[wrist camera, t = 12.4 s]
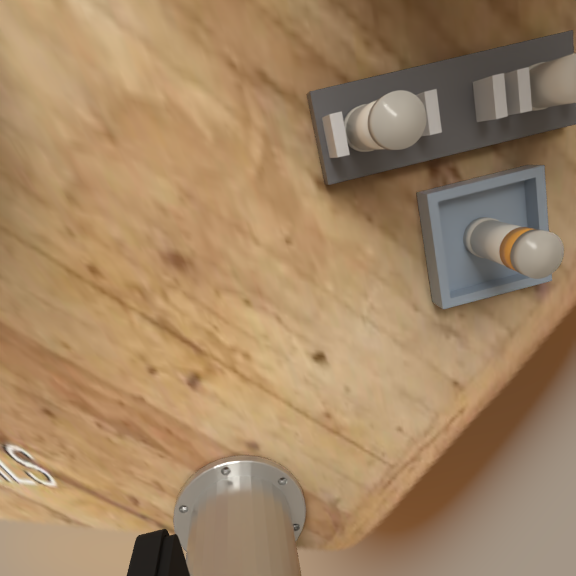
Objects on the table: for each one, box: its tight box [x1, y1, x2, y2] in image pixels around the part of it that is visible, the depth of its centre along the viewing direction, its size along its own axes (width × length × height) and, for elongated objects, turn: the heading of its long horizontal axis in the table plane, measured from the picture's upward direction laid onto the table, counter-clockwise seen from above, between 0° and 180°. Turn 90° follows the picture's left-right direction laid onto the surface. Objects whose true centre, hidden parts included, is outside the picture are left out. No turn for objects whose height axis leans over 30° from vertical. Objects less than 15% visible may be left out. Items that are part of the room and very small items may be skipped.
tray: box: [416, 165, 552, 309], centre depth 40 cm, size 10×10×2 cm
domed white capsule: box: [343, 90, 426, 152], centre depth 32 cm, size 3×3×8 cm
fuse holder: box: [307, 30, 576, 185], centre depth 36 cm, size 7×21×4 cm, turn 103°
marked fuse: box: [463, 217, 564, 279], centre depth 36 cm, size 3×3×8 cm
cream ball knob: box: [526, 53, 576, 111], centre depth 33 cm, size 3×3×8 cm
